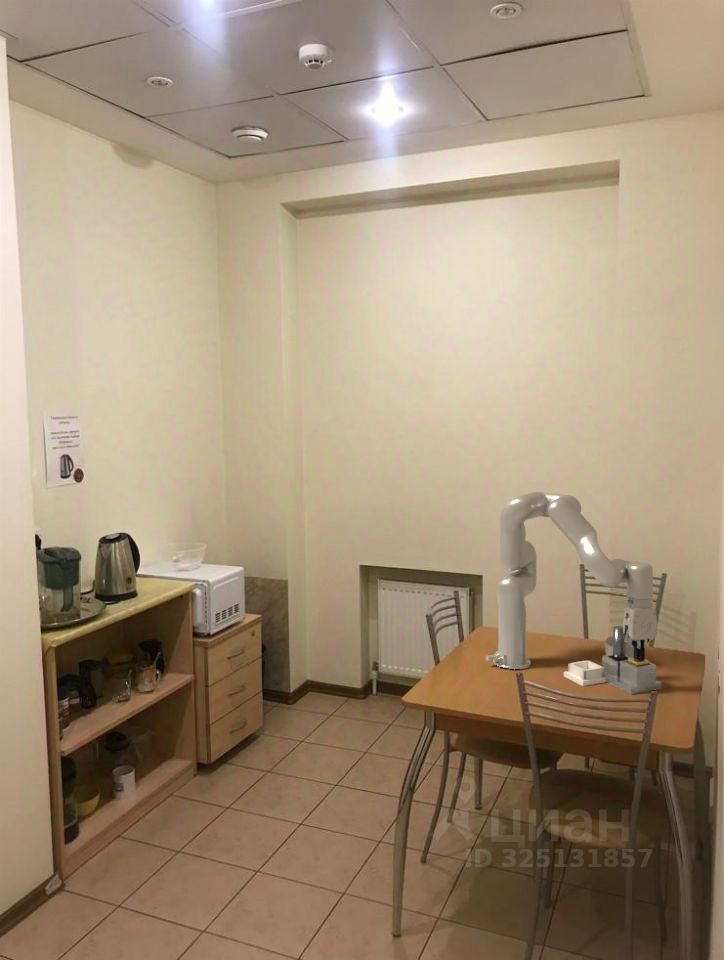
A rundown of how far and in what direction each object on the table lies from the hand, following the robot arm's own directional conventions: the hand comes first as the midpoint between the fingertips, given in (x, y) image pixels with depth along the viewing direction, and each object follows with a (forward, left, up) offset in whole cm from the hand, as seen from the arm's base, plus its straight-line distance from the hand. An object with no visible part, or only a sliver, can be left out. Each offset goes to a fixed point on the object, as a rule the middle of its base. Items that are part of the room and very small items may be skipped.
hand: (639, 659), depth 244 cm
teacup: (+11, +22, -10) cm, 26 cm away
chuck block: (0, +5, -9) cm, 11 cm away
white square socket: (-10, +13, -9) cm, 19 cm away
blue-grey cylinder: (0, +9, -7) cm, 12 cm away
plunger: (0, 0, -6) cm, 6 cm away
